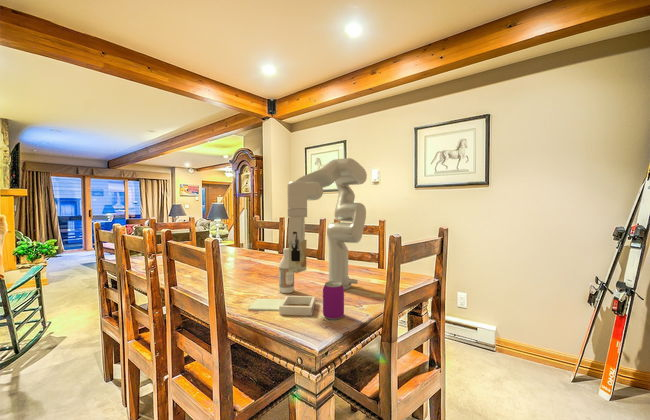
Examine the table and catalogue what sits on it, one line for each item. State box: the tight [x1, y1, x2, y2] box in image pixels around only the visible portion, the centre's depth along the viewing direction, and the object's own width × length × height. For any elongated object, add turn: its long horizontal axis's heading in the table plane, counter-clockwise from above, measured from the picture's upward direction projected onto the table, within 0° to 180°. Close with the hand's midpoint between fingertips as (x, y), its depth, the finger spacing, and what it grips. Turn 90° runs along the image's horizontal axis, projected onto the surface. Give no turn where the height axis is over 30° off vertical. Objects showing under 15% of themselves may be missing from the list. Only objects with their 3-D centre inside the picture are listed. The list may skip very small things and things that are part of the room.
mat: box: [248, 298, 284, 312], centre depth 112 cm, size 12×11×1 cm
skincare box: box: [288, 239, 308, 274], centre depth 108 cm, size 6×4×12 cm
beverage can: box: [322, 280, 345, 321], centre depth 101 cm, size 8×8×12 cm
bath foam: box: [278, 247, 295, 294], centre depth 129 cm, size 7×7×20 cm
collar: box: [278, 295, 316, 316], centre depth 108 cm, size 12×12×3 cm
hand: (297, 258), depth 108 cm, fingers closed on skincare box, 7 cm apart
